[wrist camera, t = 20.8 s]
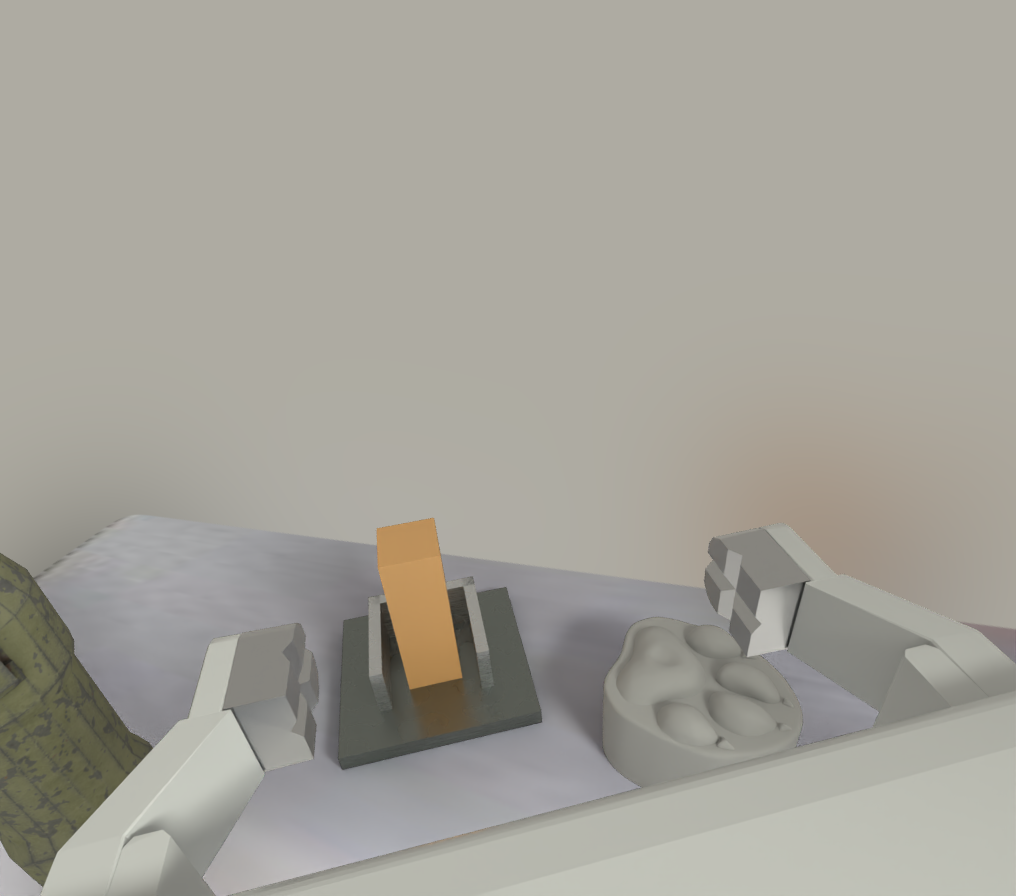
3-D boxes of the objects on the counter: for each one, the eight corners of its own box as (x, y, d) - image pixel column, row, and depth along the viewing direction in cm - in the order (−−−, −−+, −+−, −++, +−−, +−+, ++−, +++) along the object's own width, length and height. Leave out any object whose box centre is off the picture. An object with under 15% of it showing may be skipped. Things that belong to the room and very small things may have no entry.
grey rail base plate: (542, 722, 48) (538, 675, 45) (342, 769, 46) (324, 723, 43) (507, 597, 60) (502, 553, 57) (347, 631, 58) (332, 586, 55)
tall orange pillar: (455, 636, 54) (433, 517, 47) (462, 677, 51) (440, 555, 43) (406, 647, 54) (376, 528, 46) (409, 689, 50) (377, 567, 42)
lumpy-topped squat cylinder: (635, 661, 53) (639, 591, 48) (794, 721, 47) (817, 648, 42) (590, 764, 45) (590, 693, 40) (773, 851, 39) (797, 780, 35)
